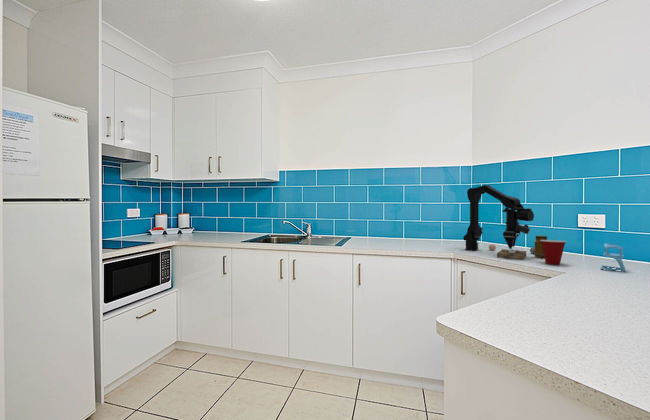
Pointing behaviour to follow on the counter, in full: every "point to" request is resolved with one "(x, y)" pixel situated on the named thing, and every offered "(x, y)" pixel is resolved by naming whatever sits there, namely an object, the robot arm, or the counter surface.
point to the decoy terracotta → (492, 247)
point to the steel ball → (512, 251)
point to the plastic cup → (553, 251)
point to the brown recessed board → (511, 254)
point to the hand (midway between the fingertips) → (511, 247)
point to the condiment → (539, 247)
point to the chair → (616, 256)
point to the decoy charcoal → (532, 250)
